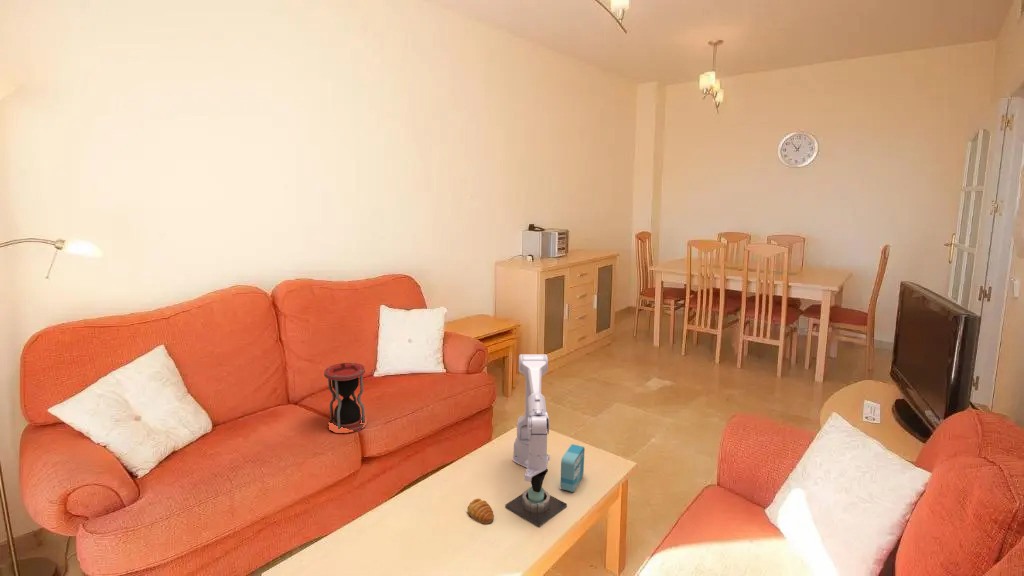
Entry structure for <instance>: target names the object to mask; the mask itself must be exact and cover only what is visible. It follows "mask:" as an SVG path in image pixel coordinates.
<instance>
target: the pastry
mask: <svg viewBox="0 0 1024 576" xmlns="http://www.w3.org/2000/svg"><path fill="white" fill-rule="evenodd" d="M467 513H468V515H469V516H470V517H471V518H472V519H473V520H475V521H477V522H479V523H480V524H485V525H486V524H489V523H492V522H493V520H494V517H495V514H494V511H493V509H492V507H491V505H490V504H489V503H488V502H487V501H486V500H482V499H481V498H474V499H473V500H472V501H470V503H469V504H468V506H467Z"/></svg>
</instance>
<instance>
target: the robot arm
mask: <svg viewBox="0 0 1024 576" xmlns="http://www.w3.org/2000/svg"><path fill="white" fill-rule="evenodd" d="M548 370H549V358H548V355H547V354H546V353H544V354H543V353H542V354H540V353H539V354H538V353H537V354H536V353H535V354H533V353H532V354H529V353H526V354H525V353H524V354H523V353H520V354H519V355H518V373H521V374H522V375H523V376H525V389H524V390H525V392H524V414H522V415H521V416H520V417H518V418H517V424H516V438H515V439H514V442H513V458H512V459H511V461H512V462H514V463H515V464H518V465H520V466H522V467H524V468H526V471H525V473H524V476H523V477H524V482H527V483H530V484H531V487H532V489H533V491H535V492H540V490H541V487H542V486H543V484H544V479H545V477H546V475H547V474H548V469H549V468H548V463H549V461H550V454H547V453H548V435H549V433H550V418H549V414H548V412H547V404H546V403H547V402H546V397H545V396H544V395H543V394H542V378H543V376H545V375H547V374H546V373H547V371H548ZM542 488H543V487H542Z"/></svg>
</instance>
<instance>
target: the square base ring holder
mask: <svg viewBox="0 0 1024 576" xmlns="http://www.w3.org/2000/svg"><path fill="white" fill-rule="evenodd" d="M528 490H529V488H528V489H526V490H525V491H523V493H521V494H520V495H518V496H517V497H515V498H513V499H512V500H510V501H509V502H508V503H506V504H505V509H507V510H509V511H510V512H512V513H514V514H516V515H517V516H519V517H521V518H522V519H524V520H526V521H527V522H530V523H531V524H533V526H536V527H538V528H541V527H542V526H543V525H544V524H546V523H547V522H548V521H550V520H551V519H552V518H554V517H555V516H556V515H557V514H559V513H561V512H562V511H563V510H564V509H566V508H567V507H568V504H567V503H566V502H564V501H562V500H560V499H558V498H557V497H554V496H552V495H550V493H549V492H548V490H546V489H544V501H543V502H538V503H537V502H531V501H530V500H528Z"/></svg>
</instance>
